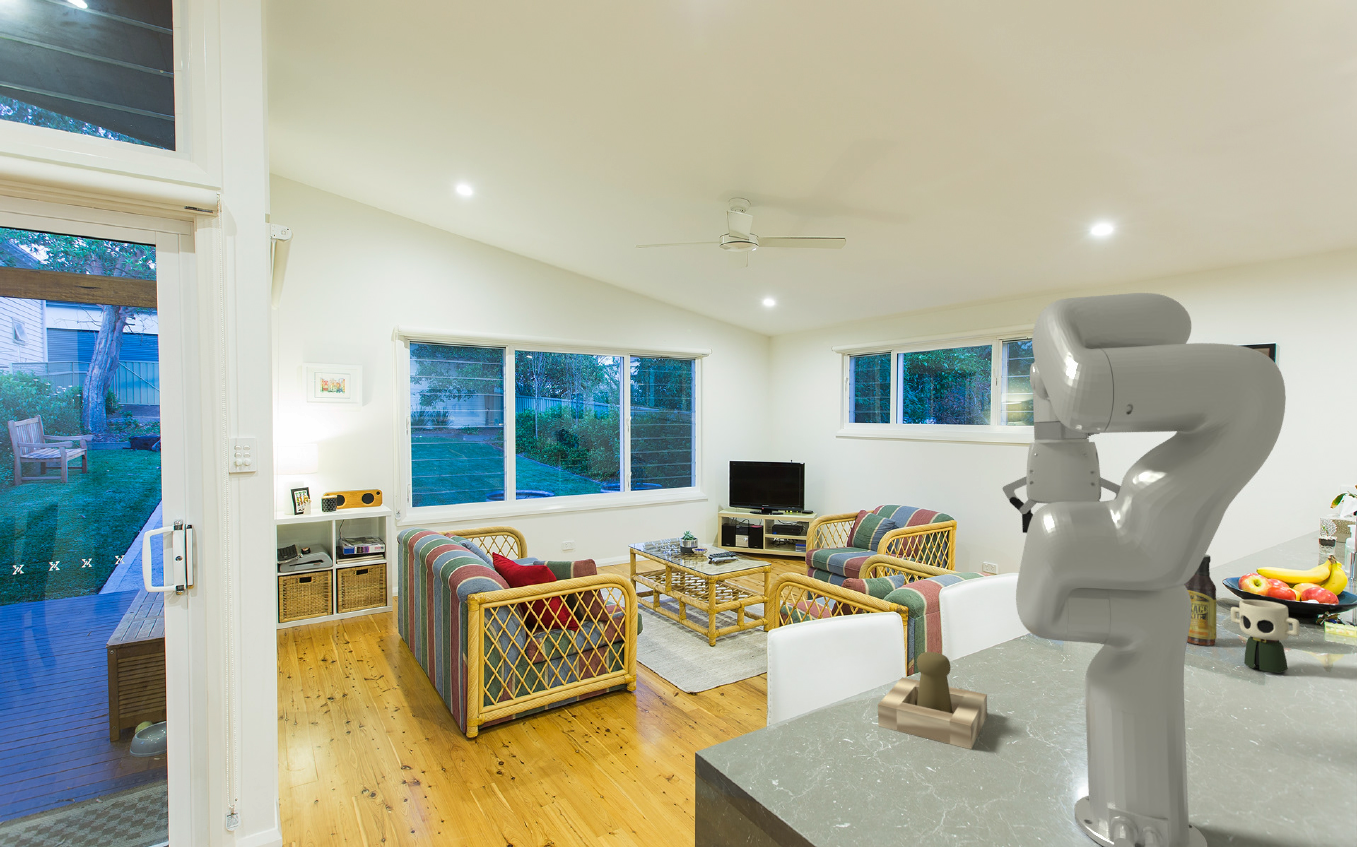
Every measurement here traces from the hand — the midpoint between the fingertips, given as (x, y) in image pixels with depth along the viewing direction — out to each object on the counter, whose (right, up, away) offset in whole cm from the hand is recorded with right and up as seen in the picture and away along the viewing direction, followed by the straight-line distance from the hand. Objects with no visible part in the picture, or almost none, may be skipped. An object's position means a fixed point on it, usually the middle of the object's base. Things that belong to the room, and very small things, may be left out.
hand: (1064, 539), depth 100 cm
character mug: (+54, -30, +23) cm, 67 cm away
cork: (-19, -31, +3) cm, 37 cm away
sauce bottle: (+55, -31, +40) cm, 75 cm away
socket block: (-20, -31, +4) cm, 37 cm away
